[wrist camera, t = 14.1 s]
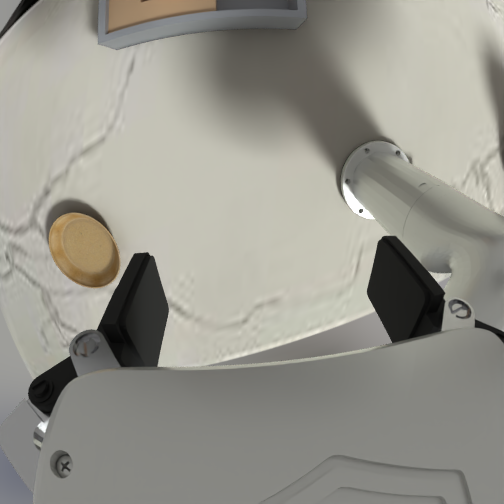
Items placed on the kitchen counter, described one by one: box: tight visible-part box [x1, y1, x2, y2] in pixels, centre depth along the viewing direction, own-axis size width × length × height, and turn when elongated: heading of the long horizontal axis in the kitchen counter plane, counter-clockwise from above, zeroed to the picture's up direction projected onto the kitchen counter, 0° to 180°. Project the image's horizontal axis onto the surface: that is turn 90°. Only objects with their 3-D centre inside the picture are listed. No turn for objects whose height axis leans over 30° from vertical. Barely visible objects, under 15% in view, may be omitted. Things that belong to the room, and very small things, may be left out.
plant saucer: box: [49, 213, 121, 288], centre depth 40 cm, size 15×15×3 cm
